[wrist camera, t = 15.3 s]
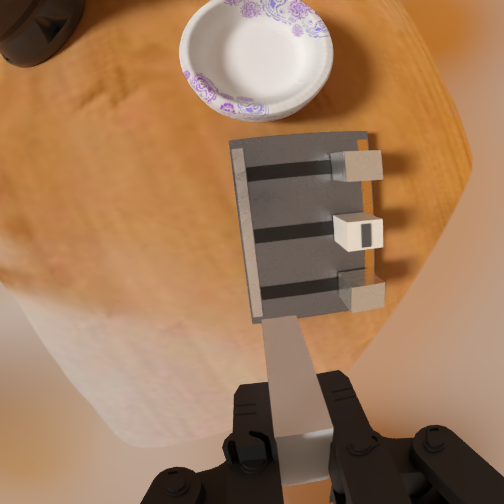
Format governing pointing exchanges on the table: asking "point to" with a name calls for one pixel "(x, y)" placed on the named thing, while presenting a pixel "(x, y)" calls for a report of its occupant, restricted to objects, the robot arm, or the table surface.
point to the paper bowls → (256, 57)
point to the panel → (305, 222)
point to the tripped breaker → (358, 231)
